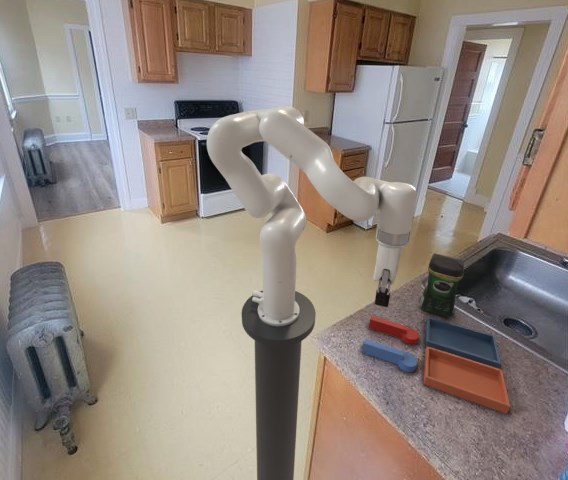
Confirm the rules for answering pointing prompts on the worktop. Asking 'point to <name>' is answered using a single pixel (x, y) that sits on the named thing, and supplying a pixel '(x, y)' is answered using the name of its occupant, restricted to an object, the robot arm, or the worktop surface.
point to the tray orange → (466, 379)
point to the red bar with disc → (394, 329)
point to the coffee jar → (442, 285)
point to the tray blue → (462, 342)
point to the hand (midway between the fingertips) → (383, 293)
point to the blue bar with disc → (390, 355)
